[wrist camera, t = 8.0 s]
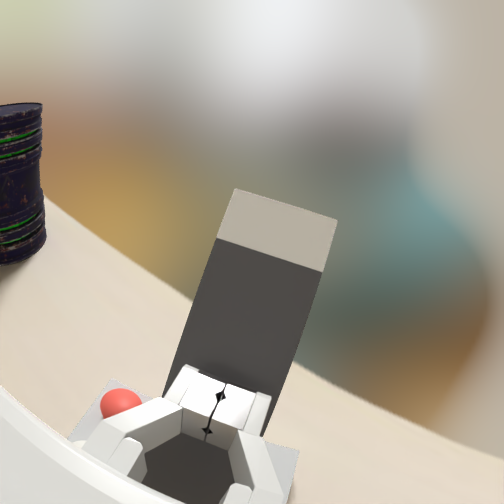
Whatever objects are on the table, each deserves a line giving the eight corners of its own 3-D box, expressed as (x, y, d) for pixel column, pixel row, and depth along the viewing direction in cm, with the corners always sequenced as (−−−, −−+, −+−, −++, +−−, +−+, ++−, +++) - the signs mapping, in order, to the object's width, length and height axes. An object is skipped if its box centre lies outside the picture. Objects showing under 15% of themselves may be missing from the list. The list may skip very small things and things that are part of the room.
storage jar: (23, 213, 33) (19, 101, 26) (63, 238, 31) (61, 104, 23) (-36, 244, 25) (-52, 118, 17) (-6, 278, 23) (-29, 124, 15)
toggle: (117, 513, 9) (224, 183, 12) (130, 498, 11) (230, 198, 13) (217, 553, 9) (348, 222, 11) (222, 534, 10) (340, 233, 13)
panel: (46, 495, 10) (25, 479, 9) (115, 394, 18) (109, 366, 16) (251, 585, 9) (266, 589, 7) (289, 461, 16) (306, 442, 15)
